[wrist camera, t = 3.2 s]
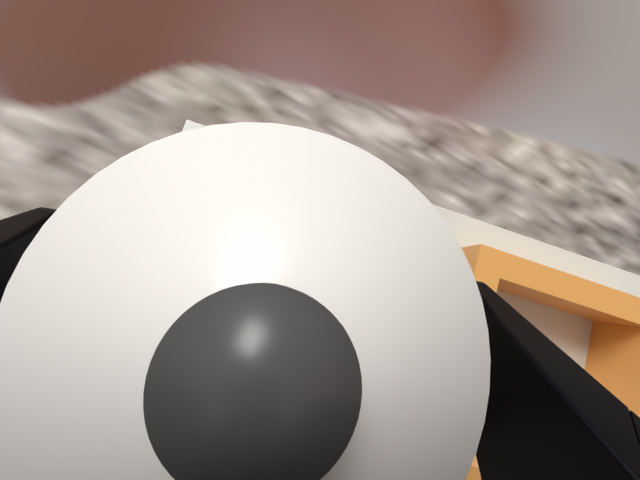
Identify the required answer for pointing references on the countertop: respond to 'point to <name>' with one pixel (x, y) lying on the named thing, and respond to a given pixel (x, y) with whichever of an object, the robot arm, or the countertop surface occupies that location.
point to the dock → (558, 300)
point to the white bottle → (243, 321)
